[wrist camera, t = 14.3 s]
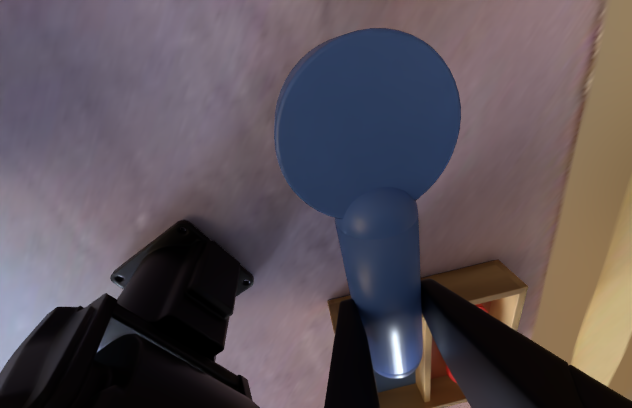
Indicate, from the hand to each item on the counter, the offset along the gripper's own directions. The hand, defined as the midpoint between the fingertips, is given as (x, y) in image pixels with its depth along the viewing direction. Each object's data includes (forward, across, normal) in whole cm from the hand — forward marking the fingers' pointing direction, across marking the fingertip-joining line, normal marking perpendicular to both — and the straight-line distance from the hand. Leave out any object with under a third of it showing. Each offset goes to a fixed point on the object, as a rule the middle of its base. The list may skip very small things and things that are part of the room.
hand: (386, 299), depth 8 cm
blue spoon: (+1, 0, -2) cm, 2 cm away
